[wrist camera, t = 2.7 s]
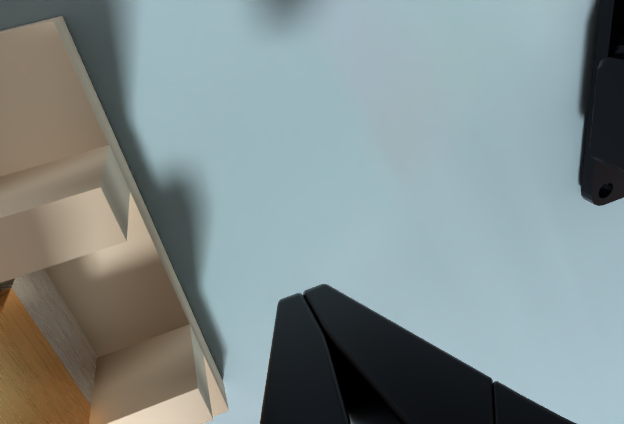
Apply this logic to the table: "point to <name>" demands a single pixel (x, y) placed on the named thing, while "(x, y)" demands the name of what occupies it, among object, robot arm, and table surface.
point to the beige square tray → (94, 237)
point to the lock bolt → (42, 356)
